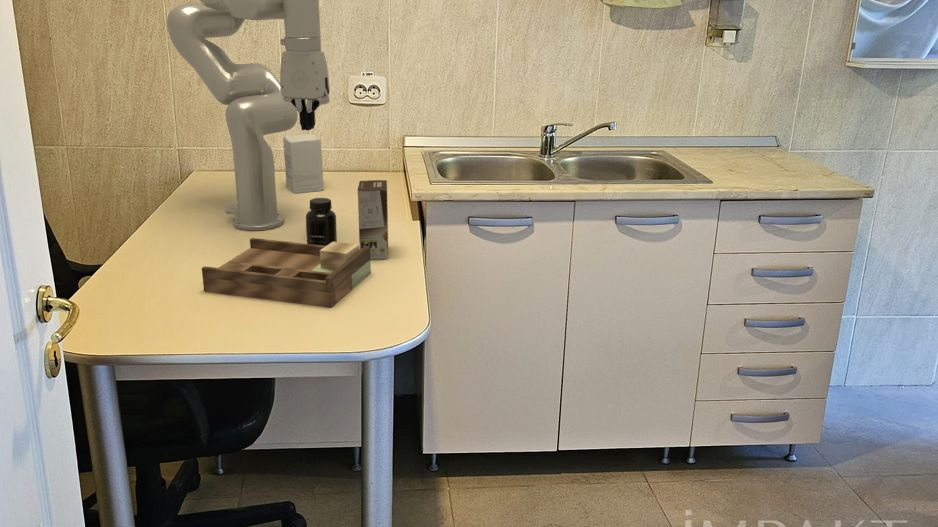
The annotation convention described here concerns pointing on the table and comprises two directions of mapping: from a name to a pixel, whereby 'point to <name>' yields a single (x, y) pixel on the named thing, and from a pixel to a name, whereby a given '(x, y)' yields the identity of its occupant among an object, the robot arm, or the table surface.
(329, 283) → the box
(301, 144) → the supplement box
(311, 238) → the supplement bottle
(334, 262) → the maple block
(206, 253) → the table surface
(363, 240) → the coffee box
